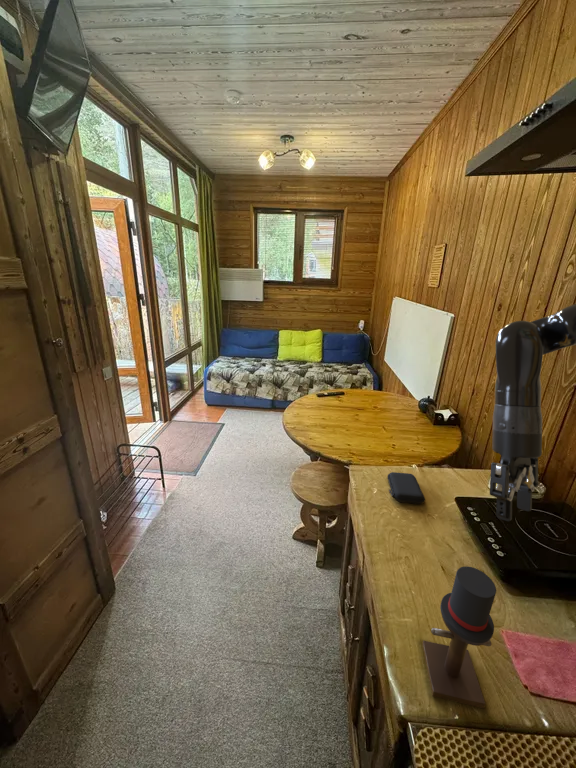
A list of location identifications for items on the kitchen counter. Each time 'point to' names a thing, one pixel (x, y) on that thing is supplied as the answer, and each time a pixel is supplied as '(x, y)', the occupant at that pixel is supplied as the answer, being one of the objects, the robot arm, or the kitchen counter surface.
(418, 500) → the carrying case
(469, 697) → the coat stand
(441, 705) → the kitchen counter surface
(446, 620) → the hat
